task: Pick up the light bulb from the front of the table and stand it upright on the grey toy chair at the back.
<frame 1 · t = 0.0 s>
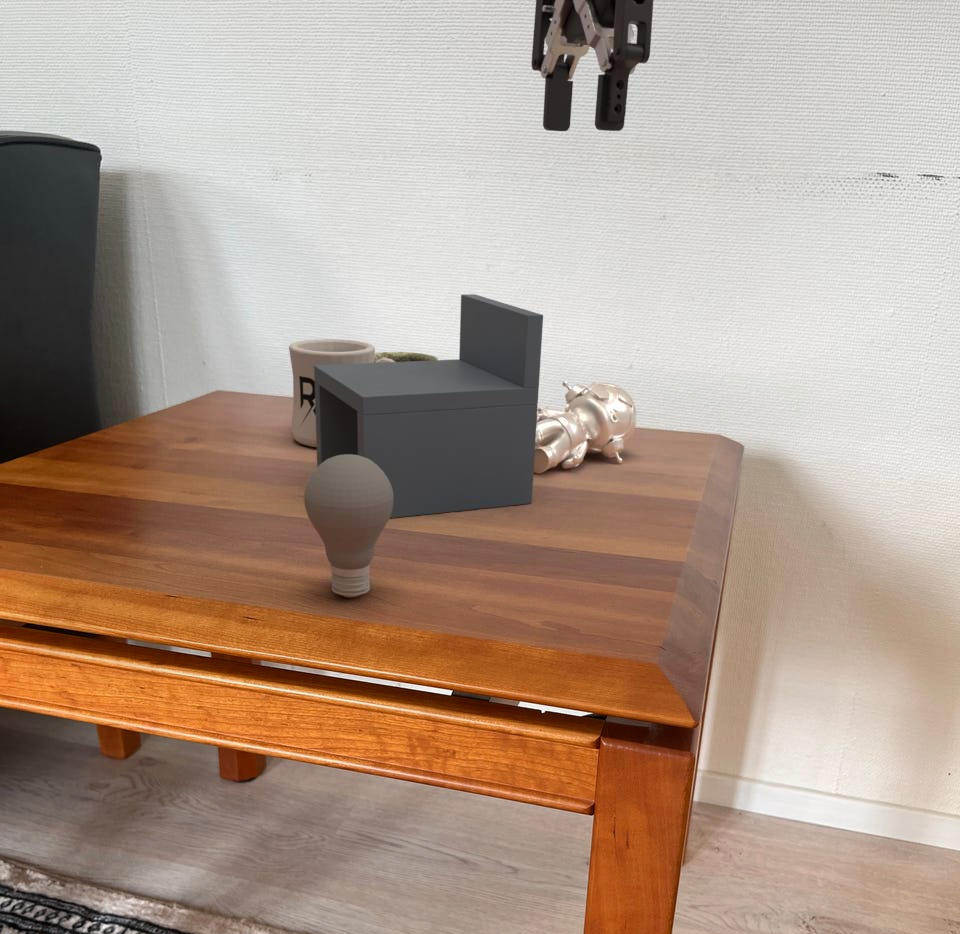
hand: (581, 130, 82), 30 cm above the table, tool pointing down, fingers open, 8 cm apart
vessel: (402, 411, 125), on the table
figurine: (573, 462, 107), on the table
mug: (348, 443, 111), on the table
light bulb: (350, 597, 72), on the table
grey toy chair: (421, 489, 95), on the table
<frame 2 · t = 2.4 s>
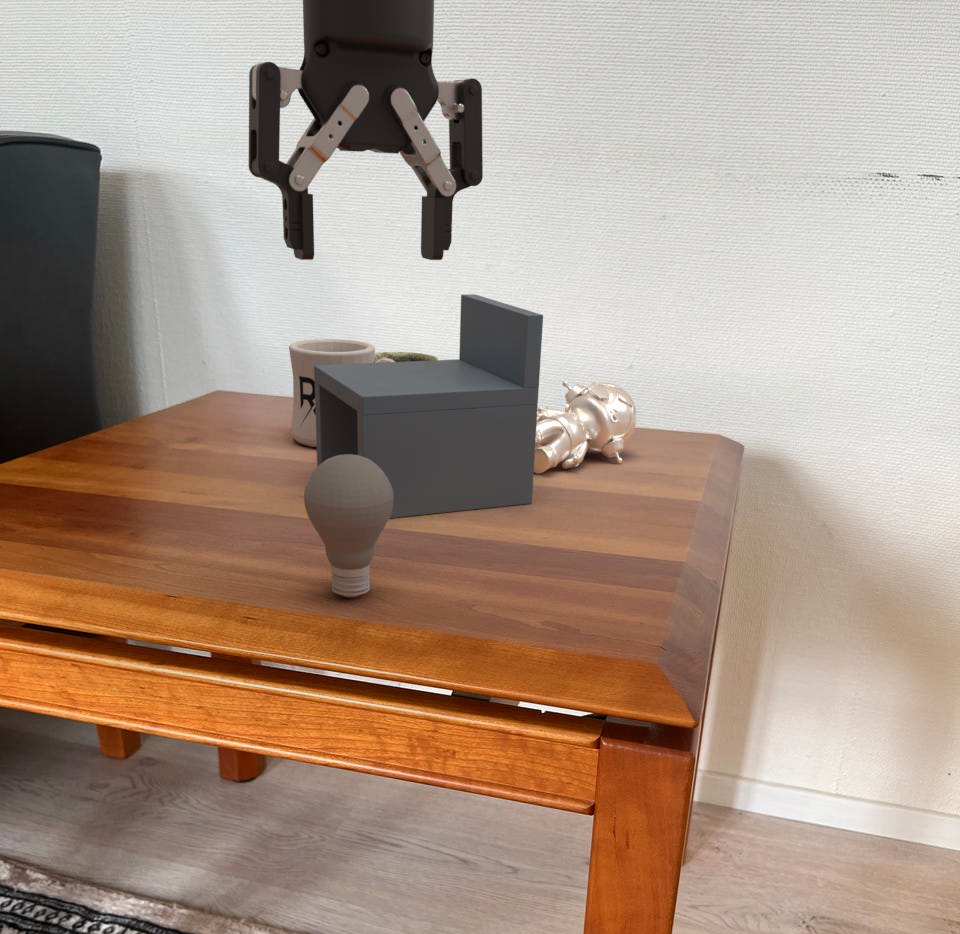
hand: (369, 258, 65), 22 cm above the table, tool pointing down, fingers open, 8 cm apart
nothing on the table moved.
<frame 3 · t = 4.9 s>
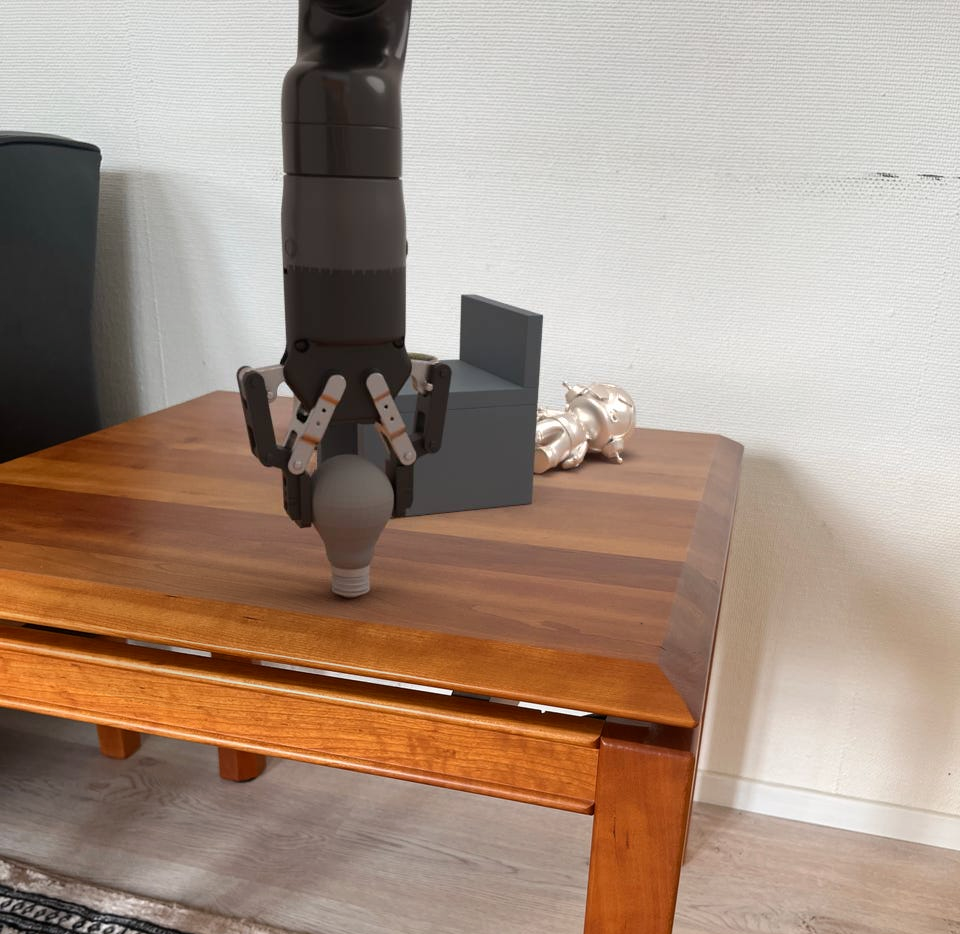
hand: (349, 518, 69), 6 cm above the table, tool pointing down, fingers closed on light bulb, 6 cm apart
light bulb: (350, 597, 72), on the table, touching gripper
everything else where it was.
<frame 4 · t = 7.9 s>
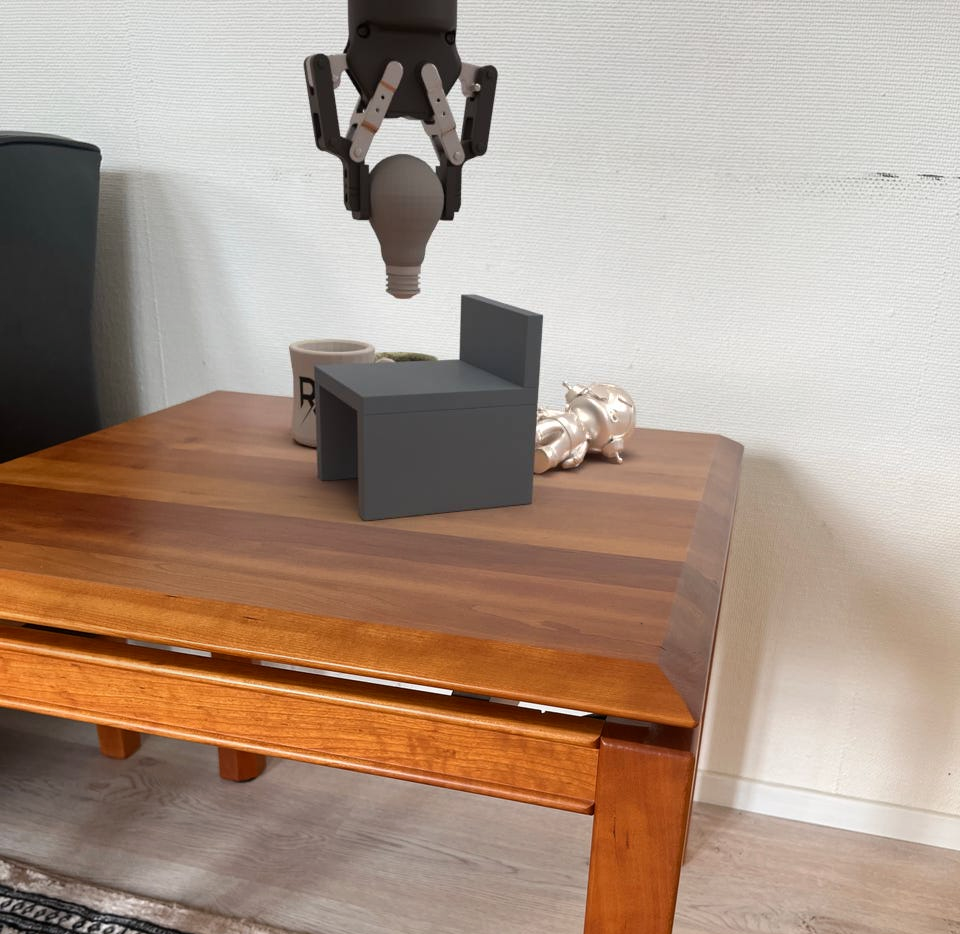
hand: (402, 219, 76), 24 cm above the table, tool pointing down, fingers closed on light bulb, 6 cm apart
light bulb: (403, 301, 78), point 18 cm above the table, touching gripper
everything else where it was.
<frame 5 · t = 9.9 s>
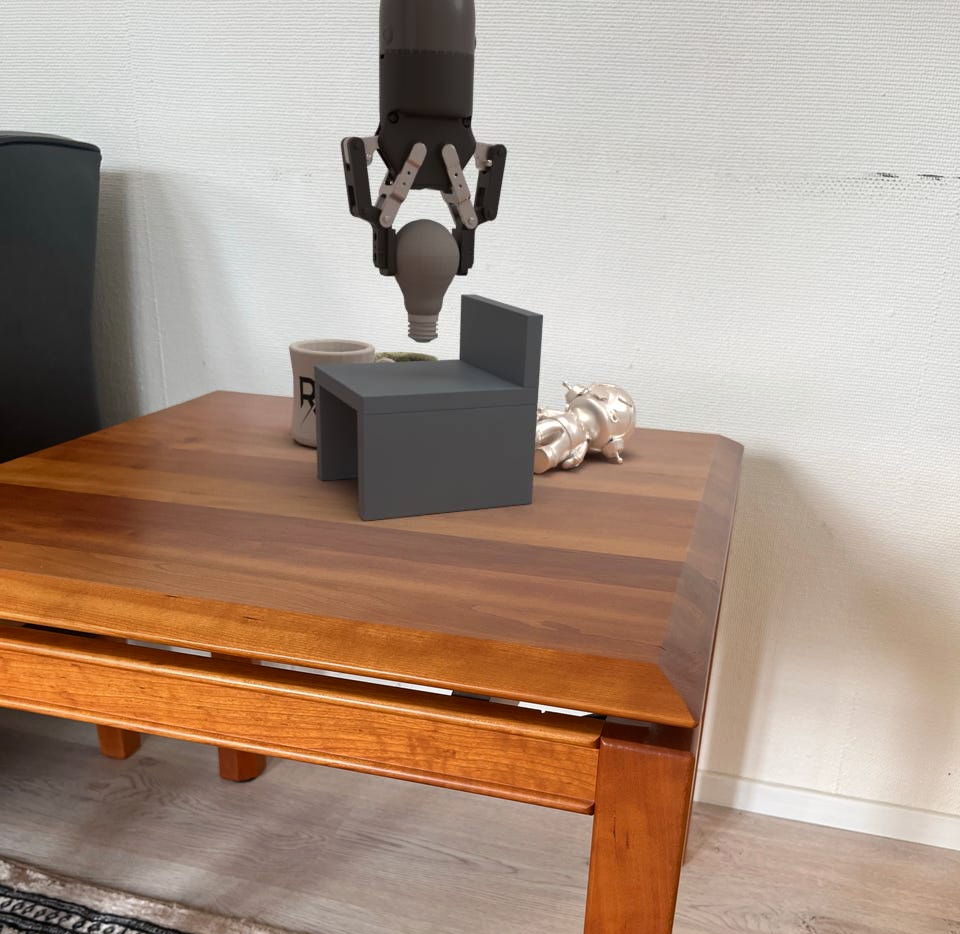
hand: (423, 274, 87), 19 cm above the table, tool pointing down, fingers closed on light bulb, 6 cm apart
light bulb: (422, 344, 90), point 13 cm above the table, touching gripper
everything else where it was.
when the fingers open (16 cm above the table, at t = 11.4 s): light bulb stays where it is, resting on grey toy chair.
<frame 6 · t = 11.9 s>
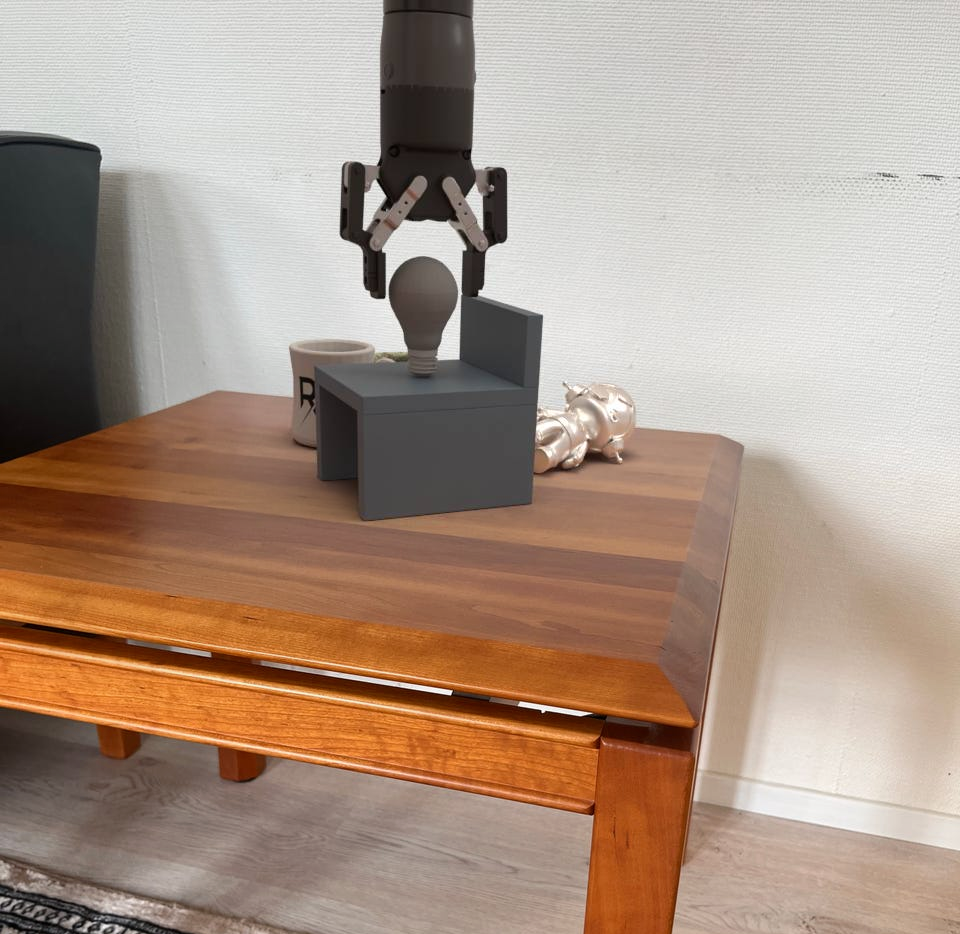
hand: (424, 297, 88), 17 cm above the table, tool pointing down, fingers open, 8 cm apart
light bulb: (422, 378, 91), point 10 cm above the table, touching grey toy chair
everything else where it was.
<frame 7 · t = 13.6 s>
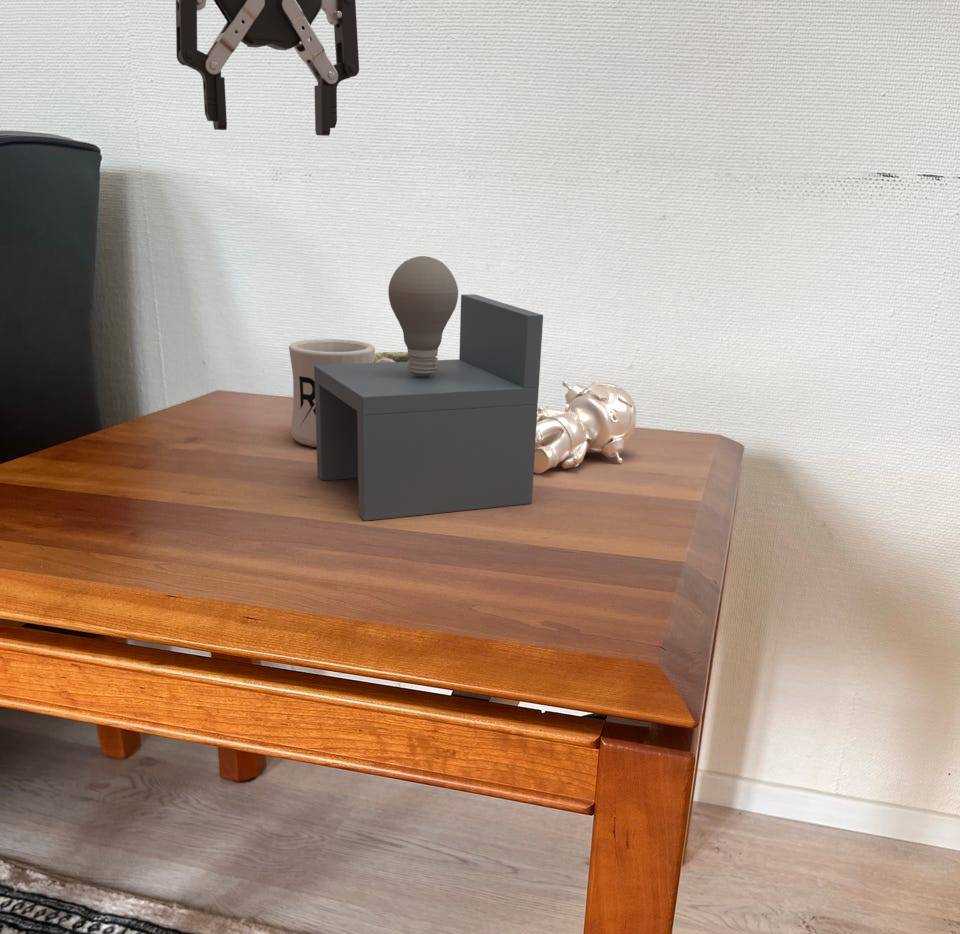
hand: (272, 132, 84), 29 cm above the table, tool pointing down, fingers open, 8 cm apart
nothing on the table moved.
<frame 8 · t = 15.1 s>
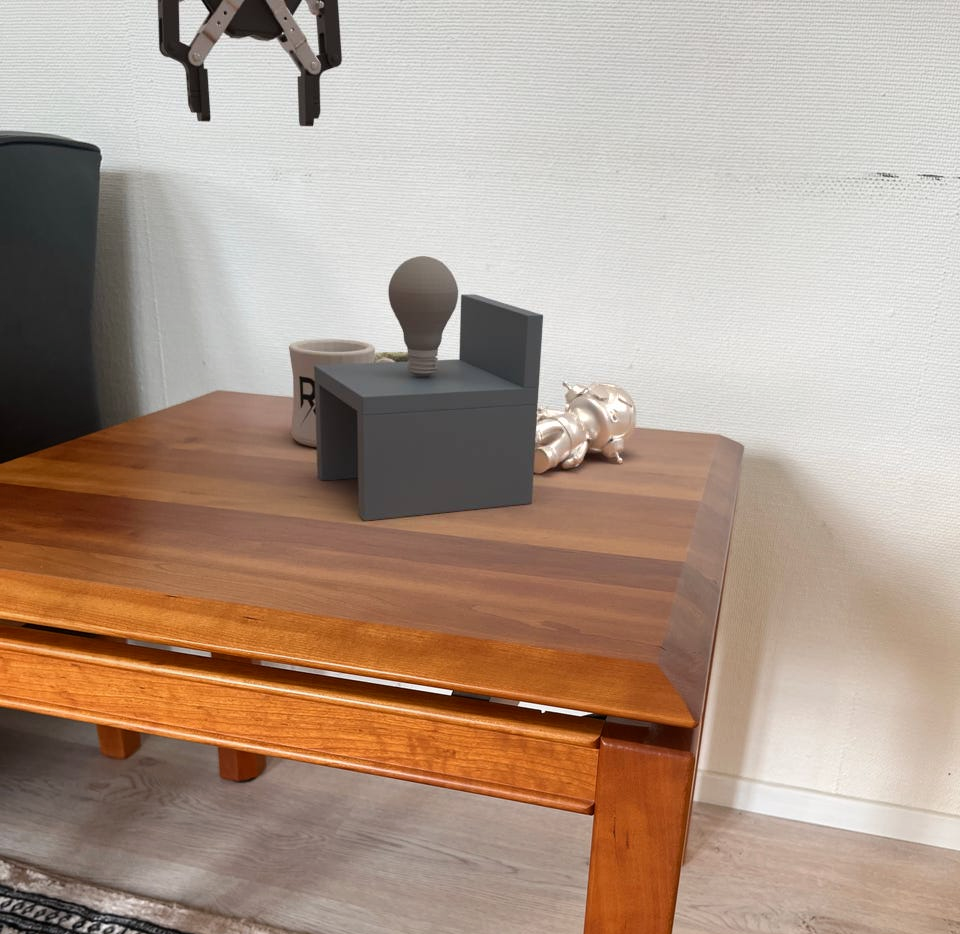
hand: (256, 123, 84), 30 cm above the table, tool pointing down, fingers open, 8 cm apart
nothing on the table moved.
at the end: light bulb inside the target area on the grey toy chair (0.1 cm from its centre), point 10.3 cm above the grey toy chair's base; light bulb tilted 0°; the gripper is holding nothing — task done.
